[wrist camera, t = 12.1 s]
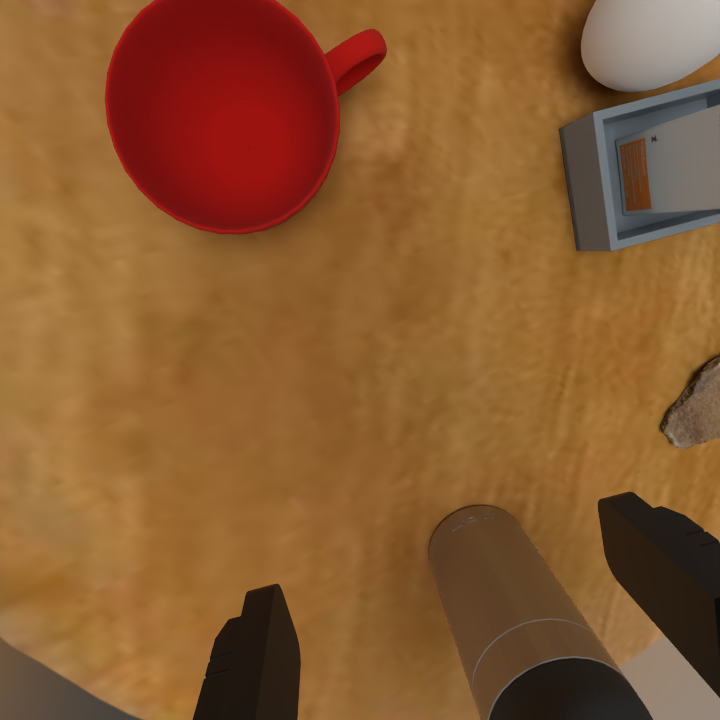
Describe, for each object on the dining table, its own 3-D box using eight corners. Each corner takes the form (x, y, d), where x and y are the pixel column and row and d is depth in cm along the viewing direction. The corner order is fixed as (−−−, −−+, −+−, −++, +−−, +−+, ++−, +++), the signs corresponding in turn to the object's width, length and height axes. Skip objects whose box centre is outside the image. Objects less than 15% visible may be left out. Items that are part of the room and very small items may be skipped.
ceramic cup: (411, 163, 38) (440, 135, 29) (220, 266, 39) (186, 273, 29) (331, -10, 35) (334, -107, 26) (126, 106, 36) (53, 55, 26)
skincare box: (612, 140, 38) (737, 94, 27) (665, 126, 38) (813, 75, 27) (621, 219, 40) (743, 208, 28) (672, 206, 40) (816, 190, 28)
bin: (717, 213, 41) (770, 208, 36) (576, 250, 41) (610, 251, 36) (707, 89, 38) (762, 67, 34) (559, 129, 38) (592, 112, 34)
